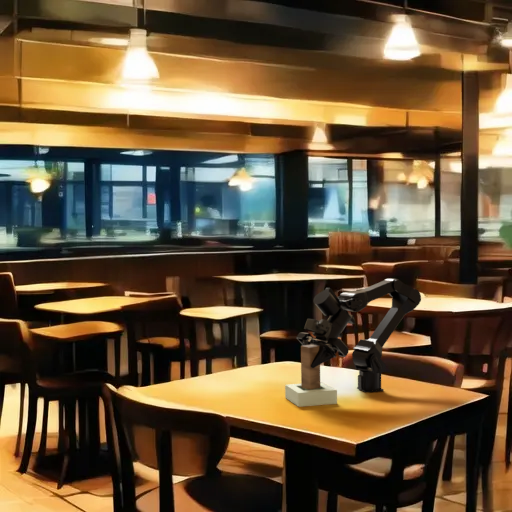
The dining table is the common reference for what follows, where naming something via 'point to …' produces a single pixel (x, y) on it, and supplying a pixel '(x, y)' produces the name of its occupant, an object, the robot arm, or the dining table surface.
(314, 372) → the walnut block
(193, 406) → the dining table surface
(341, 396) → the dining table surface
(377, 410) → the dining table surface
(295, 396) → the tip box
